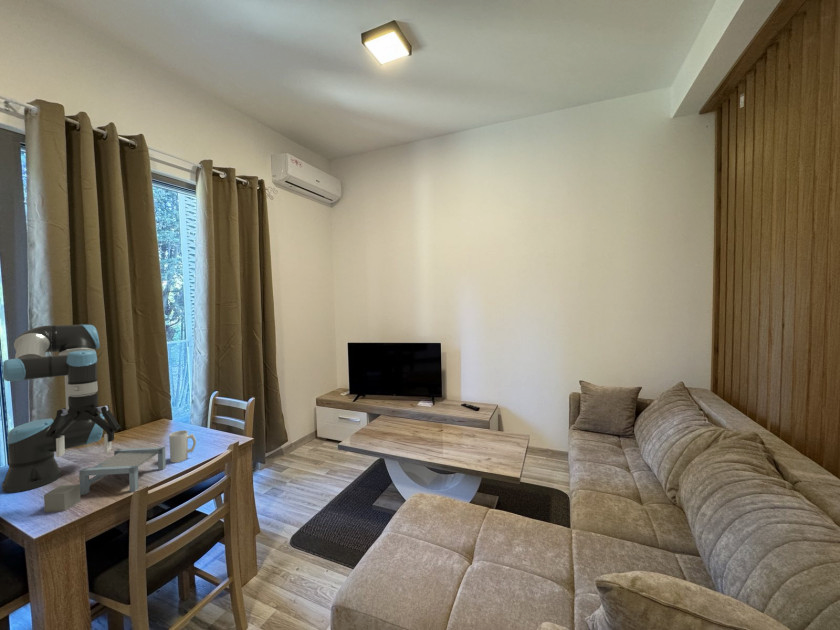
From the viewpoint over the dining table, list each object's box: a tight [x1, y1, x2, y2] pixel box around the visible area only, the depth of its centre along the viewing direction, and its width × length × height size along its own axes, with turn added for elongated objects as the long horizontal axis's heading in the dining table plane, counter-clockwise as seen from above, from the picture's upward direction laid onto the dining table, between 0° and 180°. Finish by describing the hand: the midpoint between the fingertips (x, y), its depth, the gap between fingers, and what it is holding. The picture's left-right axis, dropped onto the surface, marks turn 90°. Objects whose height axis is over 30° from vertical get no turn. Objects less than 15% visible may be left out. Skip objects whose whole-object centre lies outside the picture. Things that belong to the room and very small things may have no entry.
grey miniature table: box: [78, 446, 166, 496], centre depth 133 cm, size 18×18×9 cm
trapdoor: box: [92, 452, 157, 468], centre depth 132 cm, size 14×14×1 cm
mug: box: [168, 430, 197, 463], centre depth 151 cm, size 10×7×12 cm, turn 109°
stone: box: [43, 483, 81, 513], centre depth 116 cm, size 6×6×6 cm
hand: (84, 452), depth 120 cm, fingers open, 13 cm apart
